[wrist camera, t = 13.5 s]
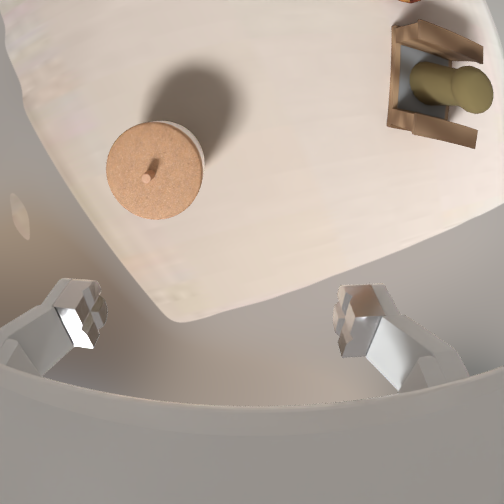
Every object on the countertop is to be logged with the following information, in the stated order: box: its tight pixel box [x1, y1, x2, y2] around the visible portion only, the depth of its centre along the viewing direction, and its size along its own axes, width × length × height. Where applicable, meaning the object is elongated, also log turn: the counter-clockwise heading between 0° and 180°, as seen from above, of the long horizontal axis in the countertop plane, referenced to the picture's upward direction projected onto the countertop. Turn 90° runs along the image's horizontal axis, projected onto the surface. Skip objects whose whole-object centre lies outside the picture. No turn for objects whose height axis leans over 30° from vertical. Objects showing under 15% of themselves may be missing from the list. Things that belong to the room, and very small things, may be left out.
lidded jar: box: [106, 121, 205, 220], centre depth 31 cm, size 11×11×9 cm
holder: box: [387, 19, 483, 149], centre depth 26 cm, size 14×9×8 cm
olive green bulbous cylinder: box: [410, 61, 493, 114], centre depth 23 cm, size 6×6×11 cm
